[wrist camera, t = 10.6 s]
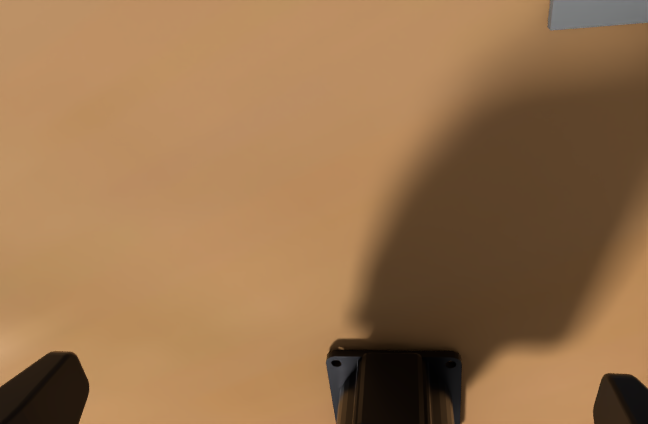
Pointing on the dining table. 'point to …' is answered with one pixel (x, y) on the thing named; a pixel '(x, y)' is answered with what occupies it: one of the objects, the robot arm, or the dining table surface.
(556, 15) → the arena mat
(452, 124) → the dining table surface
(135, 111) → the dining table surface
